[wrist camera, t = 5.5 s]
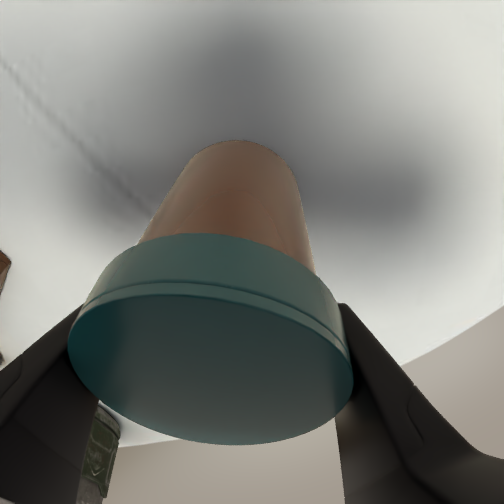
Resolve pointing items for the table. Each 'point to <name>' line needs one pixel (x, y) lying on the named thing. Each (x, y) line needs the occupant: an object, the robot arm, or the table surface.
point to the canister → (99, 459)
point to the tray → (3, 269)
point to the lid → (213, 341)
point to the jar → (237, 200)
